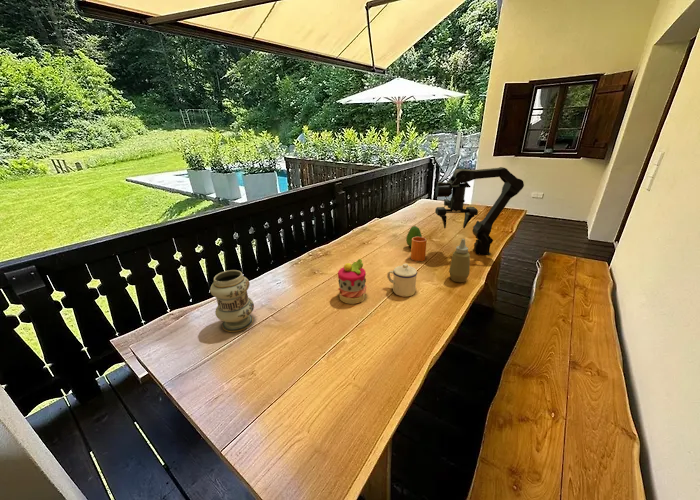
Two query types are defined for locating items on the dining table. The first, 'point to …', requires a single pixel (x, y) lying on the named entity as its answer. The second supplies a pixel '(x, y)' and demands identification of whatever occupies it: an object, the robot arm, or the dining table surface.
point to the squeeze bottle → (460, 263)
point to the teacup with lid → (403, 280)
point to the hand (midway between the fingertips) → (454, 228)
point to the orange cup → (418, 248)
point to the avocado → (413, 235)
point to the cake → (352, 282)
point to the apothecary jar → (232, 300)
